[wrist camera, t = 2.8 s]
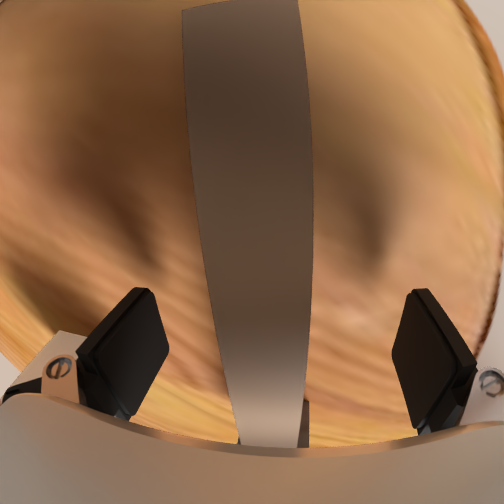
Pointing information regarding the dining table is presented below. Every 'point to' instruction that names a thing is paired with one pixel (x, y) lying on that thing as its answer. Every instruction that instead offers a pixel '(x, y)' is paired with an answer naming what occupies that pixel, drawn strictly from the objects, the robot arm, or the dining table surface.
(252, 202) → the bar
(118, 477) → the robot arm
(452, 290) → the dining table surface
